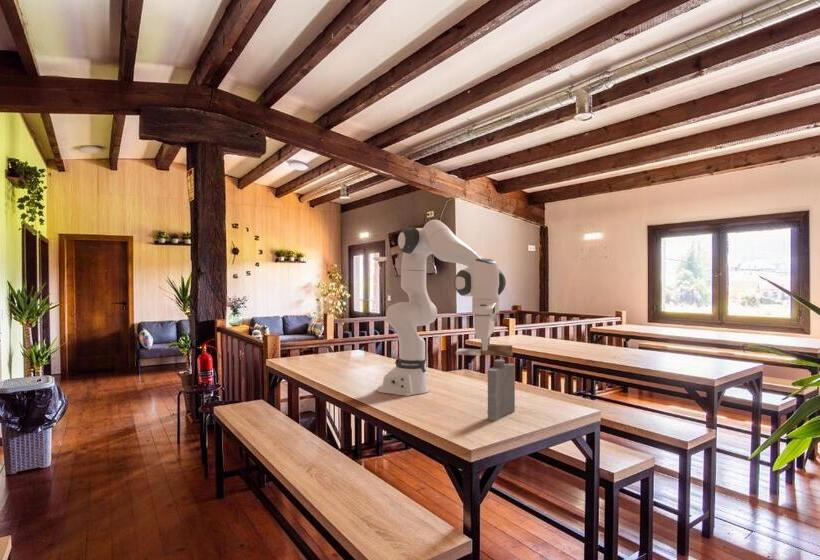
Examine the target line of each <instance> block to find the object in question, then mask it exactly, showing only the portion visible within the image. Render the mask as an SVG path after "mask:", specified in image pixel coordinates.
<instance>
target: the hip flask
mask: <svg viewBox="0 0 820 560" xmlns="http://www.w3.org/2000/svg"><path fill="white" fill-rule="evenodd" d="M505 362H506V360H505V359H495V360H494V364H495V366H493V367H491V368H488V369H487V420H488V421H489V420H490V422H496V420H497V421H498V420H500V419H501V418H503V417H504V416H507V415H509V414H512V413H515V412H516V405H515V404H516V400H515V399H516V396H515V395H516V394H515V393H516V389H515V387H516V385H515V384H516V381H515V380H516V379H515V378H516V377H515V373H516V372H515V371H516V370H515V366H516V365H515V363H505Z"/></svg>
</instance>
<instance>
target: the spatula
mask: <svg viewBox="0 0 820 560" xmlns="http://www.w3.org/2000/svg"><path fill="white" fill-rule="evenodd" d="M455 355H458V356H459V355H460V356H479V357H480V356H483V355H484V356H502V357H503V356H504V357H507V356H508V357H513V345H512V344H499V343H497V344H493V343H490V344H488V350H487V351H483V350H482V343H481V344H480V349H479V348H478V349H477V348H458V349H457V350H455Z"/></svg>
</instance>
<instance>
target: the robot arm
mask: <svg viewBox="0 0 820 560" xmlns="http://www.w3.org/2000/svg"><path fill="white" fill-rule="evenodd" d="M397 246H398V249H399V251H401V253H402V258H401V265H400V268H401V269H400V288H401V289H402V291H404V292H405V293H406V294H407V296H408V301H403V302H402V301H399V302H396V303H393V304H391V305H389V306H388V308H387V310H386V315H385V317H386V321H387V323H388V324H389V326H391V328H393V329H394V331H395V332H396V335H397V337H398V342H399V357H397V359H395V361H394V363H395V367H393V368H392V369H391V370H389V372H387V373H385V375H384V376H383V380H382V384H381V385H379V386H378V387H377V392H378V393H382V394H383V393H384V394H390V395H391V394H392V395H398V396H406V397H407V396H414V395H421V394H426V393H428V392H429V391H430V388H429V385H428V381H427V380H428V379H427V372H426V371H427V358H426V341H425V339H424V338H423V337H422V336H421V335H419V333H418V330H417V327H422V326H424V327H425V326H428V325H430V324H432V323H434V322H435V321H436V319H437V317H438V308H437V307H436V305H435V304H434V303H433V302H432V300H431V298H430V296H429V293H428V290H427V259H428V257H429V256H430V255H431V256H432V257H433V258H436V259H438V260H439V261H442V262H445V263H447V262H448V263H453V264H459V265H463V266H465V267H466V268H464V269H461V270H459V271H458V272H457V273H456V274H455V277H454V289H455V291H456V292H457V293H458V295H460V296H463V297H472V298H471V299H472V300H471V305H472V306H471V307H472V308H471V313H472V315H473V321H474V333H475V338H476V339H477V340H480V342H481V344H482V350H483V351H487V350H488V344H491V343H490V342H491V336H492V334H494V332H495V318H496V314H500V295H501V294H502V293H503V292H504V289H505V288H506V284H507V282H506V281H507V280H506V277H505V274H504V273H503V272H502V271H501V269H499V266H498V263H497V261H495V260H494V259H491V258H484V257H483V256H482V255H481V254H480V253H479V252H478V251H476V250H475V248H473V247H471V246H470V245H468V244H466V243H465V242H464V241H462V240H461V239H460V238H459V237H458V236H456V234H454V233H453V231H452V230H451V229H450V228H449V227H448V226H447V224H445V223H444V222H442V221H441V220H439V219H431V220H428V221H427V222H426V223H425V224H424V226H423V227H417V228H415V227H407V228H403V229H401V231H400V232H399V234H398V236H397Z"/></svg>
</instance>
